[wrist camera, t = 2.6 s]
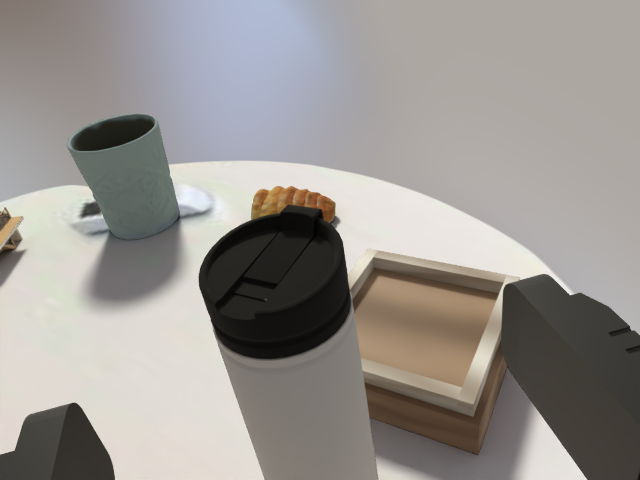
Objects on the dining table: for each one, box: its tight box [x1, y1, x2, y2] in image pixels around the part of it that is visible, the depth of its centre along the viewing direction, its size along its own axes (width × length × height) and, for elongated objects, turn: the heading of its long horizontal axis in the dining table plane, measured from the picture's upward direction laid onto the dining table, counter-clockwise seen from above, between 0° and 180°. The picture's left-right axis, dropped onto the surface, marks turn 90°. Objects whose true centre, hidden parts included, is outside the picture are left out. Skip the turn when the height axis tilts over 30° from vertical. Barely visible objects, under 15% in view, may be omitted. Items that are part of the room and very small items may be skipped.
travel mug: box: [199, 204, 378, 480], centre depth 28 cm, size 6×7×20 cm
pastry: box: [251, 186, 335, 224], centre depth 61 cm, size 9×7×4 cm
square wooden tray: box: [348, 249, 520, 455], centre depth 42 cm, size 14×14×4 cm
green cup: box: [67, 113, 179, 240], centre depth 63 cm, size 10×10×12 cm
